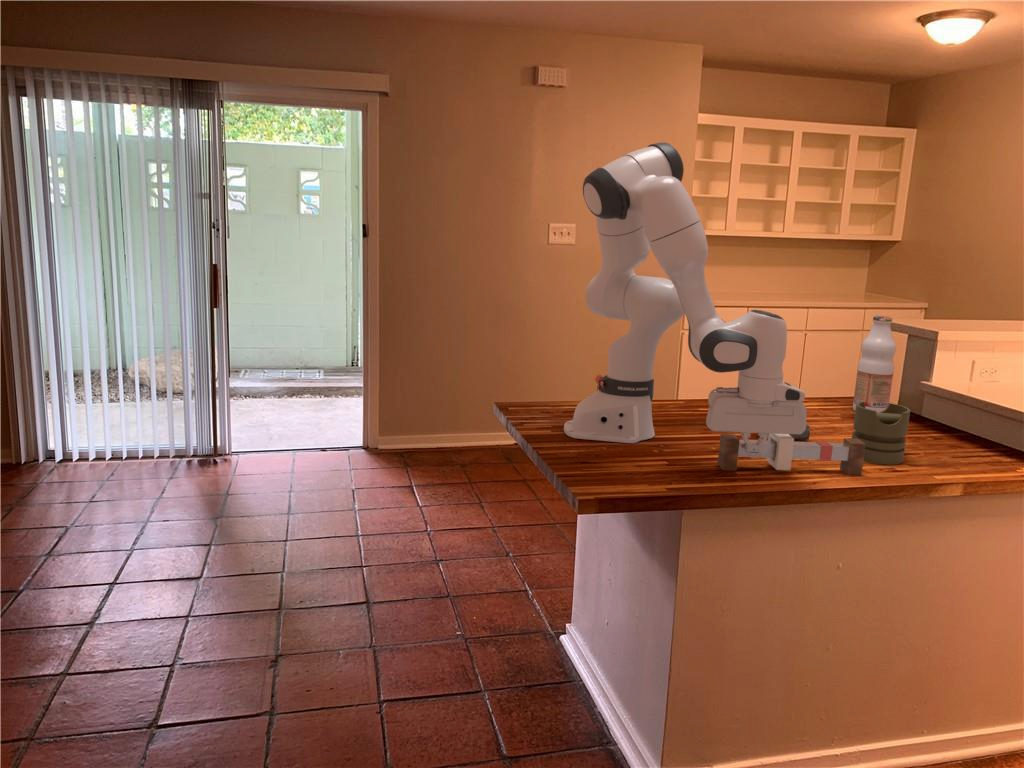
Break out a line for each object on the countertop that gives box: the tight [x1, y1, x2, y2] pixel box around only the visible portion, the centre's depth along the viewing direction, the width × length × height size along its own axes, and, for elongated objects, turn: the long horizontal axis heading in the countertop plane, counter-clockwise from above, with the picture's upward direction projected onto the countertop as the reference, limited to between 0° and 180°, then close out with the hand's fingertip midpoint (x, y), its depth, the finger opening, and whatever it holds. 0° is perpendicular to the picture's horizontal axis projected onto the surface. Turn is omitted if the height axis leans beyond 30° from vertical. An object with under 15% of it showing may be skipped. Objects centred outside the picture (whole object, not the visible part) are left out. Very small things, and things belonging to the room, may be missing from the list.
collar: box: [765, 433, 795, 471], centre depth 168 cm, size 3×7×7 cm, turn 0°
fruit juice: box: [852, 315, 897, 413], centre depth 223 cm, size 9×9×28 cm
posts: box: [717, 433, 866, 476], centre depth 168 cm, size 30×4×7 cm, turn 90°
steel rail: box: [738, 439, 850, 462], centre depth 168 cm, size 28×3×3 cm, turn 90°
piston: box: [851, 401, 911, 466], centre depth 179 cm, size 11×12×11 cm
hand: (752, 452), depth 164 cm, fingers closed
